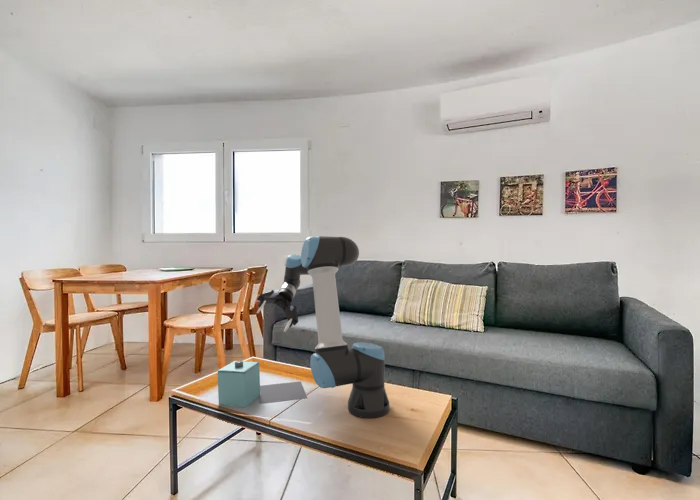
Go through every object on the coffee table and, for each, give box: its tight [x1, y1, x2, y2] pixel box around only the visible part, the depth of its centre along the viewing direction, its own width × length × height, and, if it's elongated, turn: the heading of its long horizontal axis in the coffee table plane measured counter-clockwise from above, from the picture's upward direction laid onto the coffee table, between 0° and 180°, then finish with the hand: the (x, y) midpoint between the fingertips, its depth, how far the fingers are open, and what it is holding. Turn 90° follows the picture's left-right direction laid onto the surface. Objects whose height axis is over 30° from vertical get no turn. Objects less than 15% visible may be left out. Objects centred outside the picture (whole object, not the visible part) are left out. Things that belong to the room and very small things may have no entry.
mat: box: [258, 381, 308, 405], centre depth 138 cm, size 18×18×1 cm
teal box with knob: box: [217, 360, 261, 408], centre depth 130 cm, size 11×11×14 cm
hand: (272, 320), depth 140 cm, fingers open, 13 cm apart
